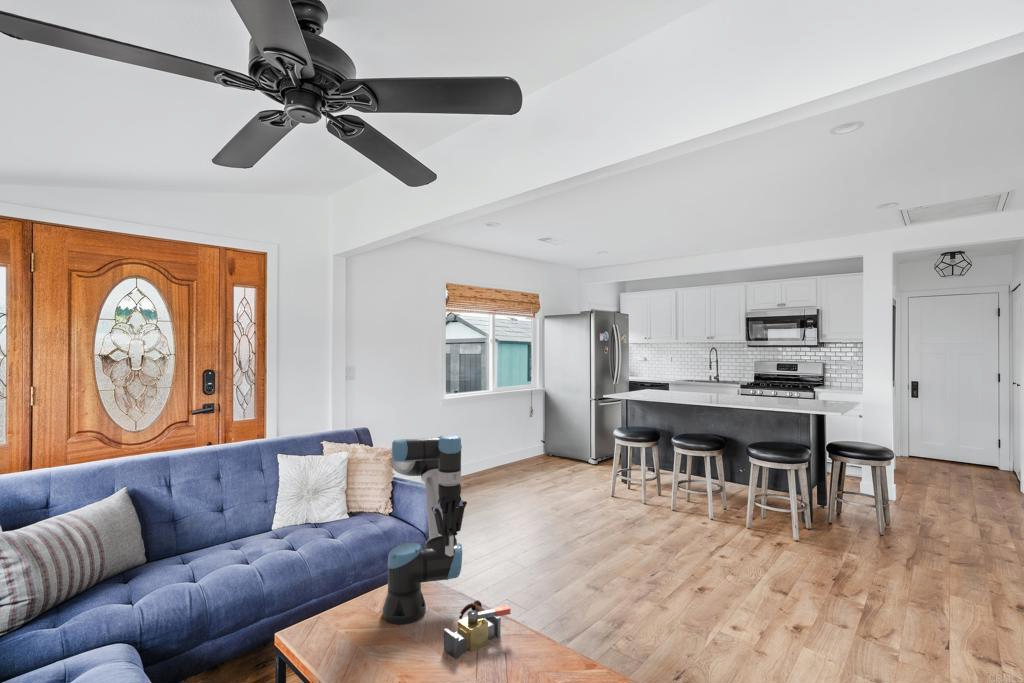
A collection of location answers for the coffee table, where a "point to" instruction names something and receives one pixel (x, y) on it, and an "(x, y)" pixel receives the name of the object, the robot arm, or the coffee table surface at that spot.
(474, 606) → the pottery mug
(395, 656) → the coffee table surface
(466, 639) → the valve body
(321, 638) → the coffee table surface
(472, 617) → the lever
